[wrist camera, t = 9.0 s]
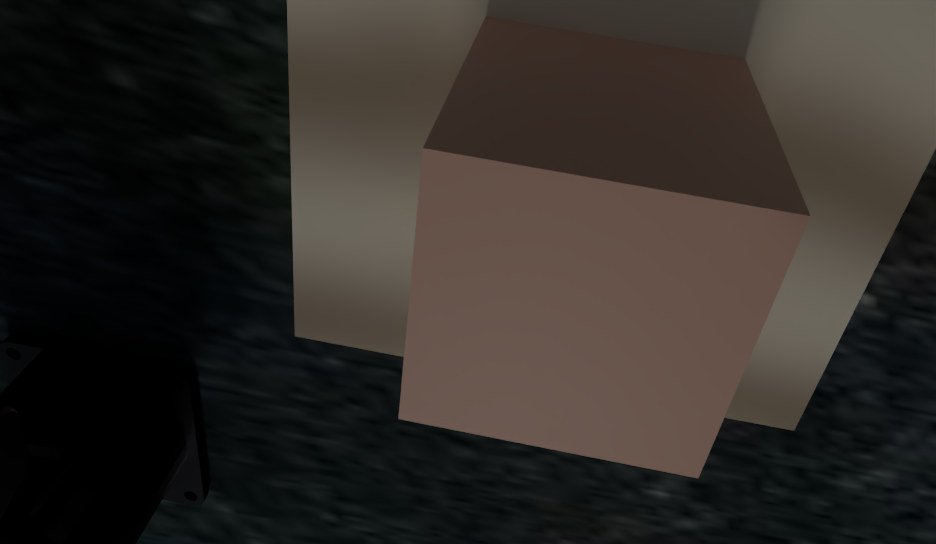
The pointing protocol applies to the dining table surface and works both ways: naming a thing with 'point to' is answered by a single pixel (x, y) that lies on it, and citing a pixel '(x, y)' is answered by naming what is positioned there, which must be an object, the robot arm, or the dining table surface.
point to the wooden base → (637, 19)
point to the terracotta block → (595, 246)
